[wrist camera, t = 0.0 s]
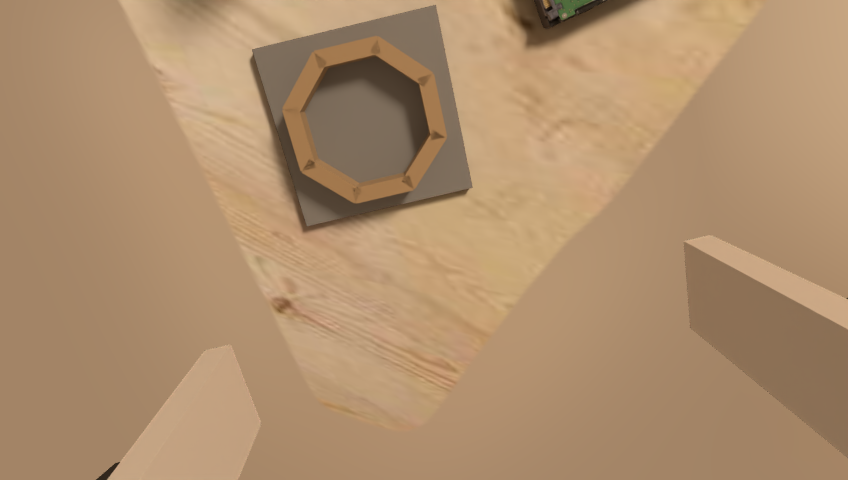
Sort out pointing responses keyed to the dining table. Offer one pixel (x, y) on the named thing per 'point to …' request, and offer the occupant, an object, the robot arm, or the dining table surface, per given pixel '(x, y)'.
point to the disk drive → (562, 10)
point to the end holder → (366, 115)
